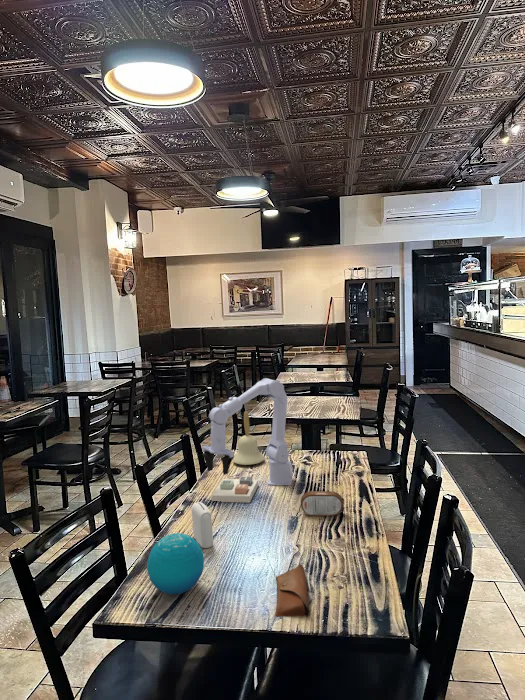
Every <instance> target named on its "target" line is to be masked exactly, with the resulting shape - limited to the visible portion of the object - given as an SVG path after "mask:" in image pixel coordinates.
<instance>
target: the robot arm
mask: <svg viewBox="0 0 525 700" xmlns="http://www.w3.org/2000/svg"><path fill="white" fill-rule="evenodd" d="M259 395H260V396H268V397H270V398H271V400H272V401H273V414H272V426H271V427H272V429H271V437H270V439H269V440H268V445H267V447H266V448H265V449H266V450H265V454H266V456H267V457H268V465H269V466H268V467H269V480H268V482H267V485H268V486H291V485H292V481H293V466H292V461H289V456H290V454H289V451H288V444H287V441H286V439H285V435H286V422H287V421H286V419H287V407H288V395H287V393H286V391H285V385H284V384H283V383H281V382H280V381H279V380H276V379H270V378H267V377H264V378H262V379H261V380H258V381H257V382H256V383H255V384H254V385H253V386H251V387H250V388H249V389H247V390H246V391H245V392H243V393H242V394H241V395H239V396H238V397H237V396H230V397H228V400H227V401H225V402H224V403H220V404H219V405H218V407H217V406H216V407H212V409H211V410H210V411H209V414H208V418H209V420H210V446H209V445H204V446H202V447H201V448H202V449H201V450H202V451H201V452H203V453H202V455H201V456H202V457H203V459H204V461H205V464H206V467H207V471H208V472H210V471H213V469H214V458H215V455H220V456H222V457H221V458H220V459H221V463H222V474H223V475H225V476H226V475H228V474H229V470H230V467H231V464H232V462H233V458H234V456H235V451H233V450H231V449H228V448H226V430H227V429H226V428H227V427H226V423H227V422H228V421H229V418H230V417H231V416H233V415H235V414H236V413H237V412H239V411H241V410H242V408H243V405H244V404H246V403H248V402H249V401H251V400H252V399H254V398H256V397H257V396H259Z"/></svg>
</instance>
